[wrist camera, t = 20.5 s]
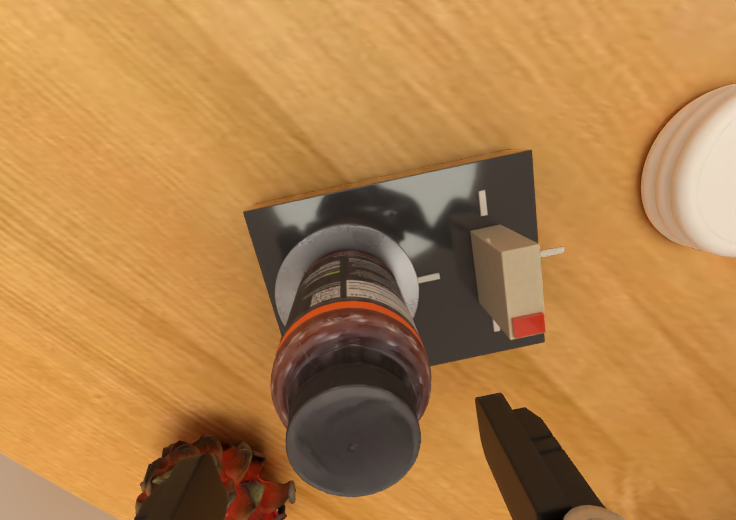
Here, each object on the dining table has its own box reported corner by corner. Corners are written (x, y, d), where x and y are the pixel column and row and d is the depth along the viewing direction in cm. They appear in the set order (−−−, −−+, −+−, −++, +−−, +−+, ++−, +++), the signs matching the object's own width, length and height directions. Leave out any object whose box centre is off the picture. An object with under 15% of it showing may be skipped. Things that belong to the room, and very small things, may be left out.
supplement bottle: (355, 359, 23) (363, 554, 12) (277, 303, 21) (203, 464, 10) (421, 290, 21) (495, 434, 11) (342, 225, 20) (336, 317, 9)
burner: (405, 210, 20) (406, 211, 20) (428, 341, 23) (429, 344, 23) (257, 242, 20) (256, 243, 20) (296, 369, 23) (296, 372, 23)
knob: (469, 230, 21) (503, 253, 16) (500, 223, 21) (543, 245, 16) (478, 303, 22) (512, 343, 18) (508, 297, 22) (549, 335, 18)
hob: (531, 144, 23) (559, 143, 20) (542, 317, 26) (568, 339, 23) (255, 203, 23) (241, 212, 20) (304, 367, 26) (299, 395, 23)
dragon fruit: (185, 390, 28) (292, 463, 33) (88, 501, 25) (225, 565, 29) (211, 428, 21) (341, 513, 26) (82, 590, 18) (261, 655, 22)
